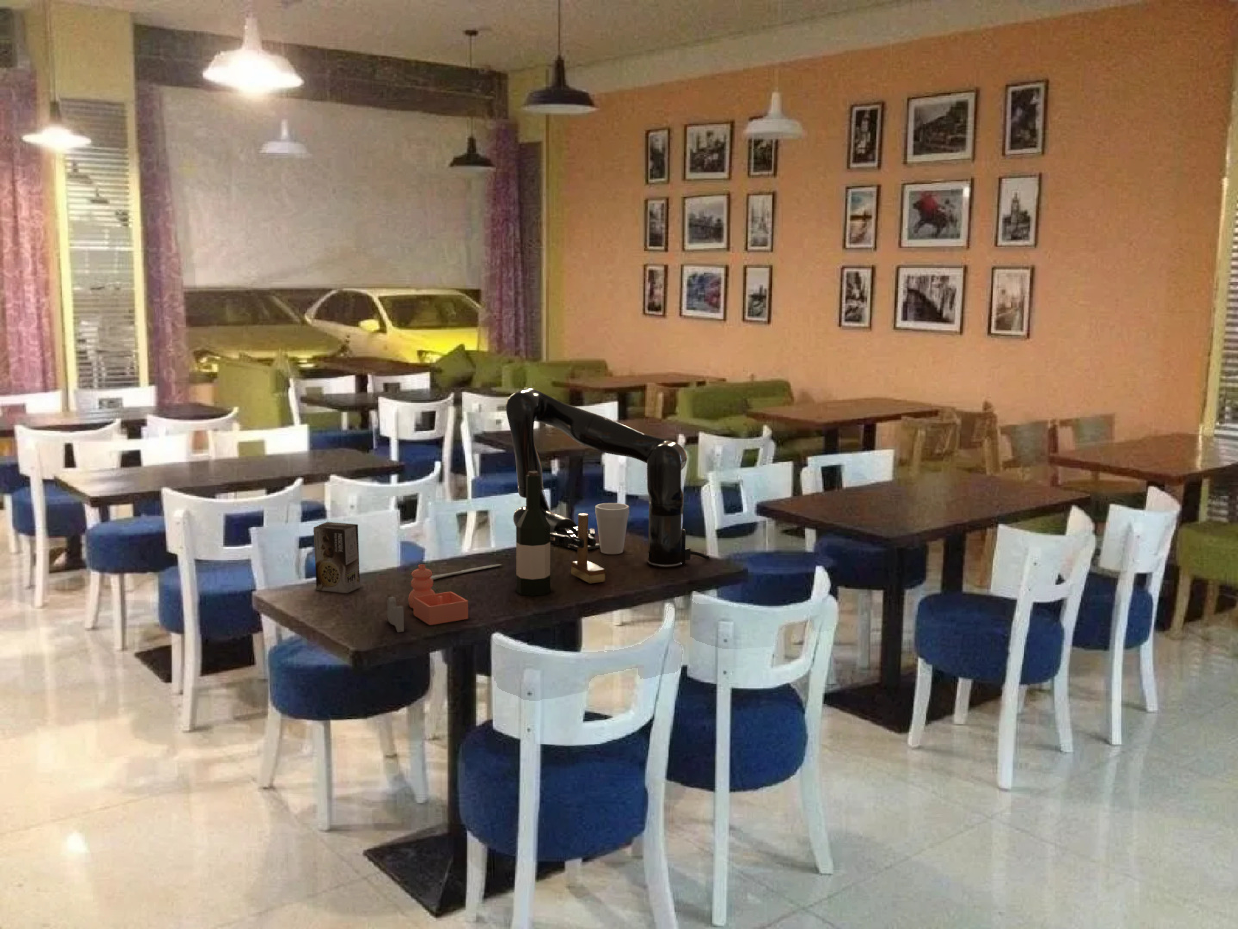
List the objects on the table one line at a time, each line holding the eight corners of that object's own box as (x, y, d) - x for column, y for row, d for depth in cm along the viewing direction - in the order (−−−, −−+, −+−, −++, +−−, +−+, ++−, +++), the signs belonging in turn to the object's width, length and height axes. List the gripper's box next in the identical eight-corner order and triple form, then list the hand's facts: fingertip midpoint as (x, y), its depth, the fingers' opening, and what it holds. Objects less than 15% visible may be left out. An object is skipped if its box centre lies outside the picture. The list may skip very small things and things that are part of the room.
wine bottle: (549, 596, 283) (549, 474, 278) (515, 596, 282) (514, 474, 277) (550, 586, 291) (550, 468, 286) (517, 586, 291) (516, 468, 285)
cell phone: (568, 538, 342) (568, 535, 342) (602, 547, 331) (602, 544, 331) (548, 542, 337) (548, 539, 337) (581, 551, 326) (581, 548, 326)
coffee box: (361, 587, 288) (359, 524, 286) (346, 594, 282) (345, 529, 280) (329, 583, 291) (327, 521, 289) (314, 590, 285) (312, 526, 283)
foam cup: (594, 547, 332) (594, 503, 329) (626, 547, 333) (626, 502, 330) (597, 555, 322) (597, 510, 320) (630, 555, 323) (630, 509, 321)
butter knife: (420, 577, 296) (426, 579, 294) (498, 562, 311) (504, 565, 309) (420, 578, 296) (426, 581, 294) (498, 564, 311) (504, 566, 309)
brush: (570, 573, 301) (572, 513, 298) (585, 571, 303) (587, 511, 300) (589, 583, 292) (591, 521, 289) (604, 581, 294) (606, 520, 291)
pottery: (468, 618, 264) (467, 576, 262) (429, 625, 259) (428, 582, 257) (435, 599, 279) (435, 559, 277) (398, 605, 274) (397, 564, 272)
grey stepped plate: (397, 632, 253) (386, 619, 262) (404, 632, 254) (392, 618, 263) (397, 607, 252) (386, 595, 261) (403, 606, 253) (392, 594, 262)
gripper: (534, 518, 306) (564, 531, 292) (581, 513, 313) (612, 526, 298) (534, 545, 308) (563, 560, 293) (581, 540, 314) (612, 554, 300)
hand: (588, 543), depth 296 cm, fingers closed on brush, 2 cm apart
